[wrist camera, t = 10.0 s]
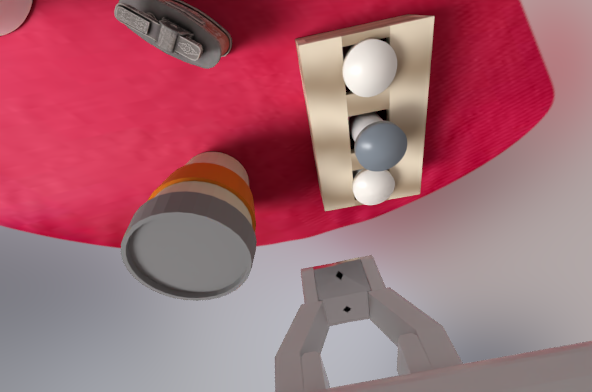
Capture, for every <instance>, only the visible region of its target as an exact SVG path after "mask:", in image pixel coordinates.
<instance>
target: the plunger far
mask: <svg viewBox="0 0 592 392" xmlns="http://www.w3.org/2000/svg"><path fill="white" fill-rule="evenodd" d="M352 174H353V182H352V190H353V193H354V196H355V198H356V199H357V200H358V201H359V202H360V203H362V204H365V205H376V204H379V203H382V202H383V201H385V200H386V199H388V198H389V197H390V196H391V194H392V193H393V191H394V188H395V181H394V178H393V177H392V175H391V174H390V172H389V171H388V170H384V171H377V172H376V171H370V170H367V169H359V170H354V171H352Z"/></svg>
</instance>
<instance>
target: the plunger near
mask: <svg viewBox="0 0 592 392" xmlns="http://www.w3.org/2000/svg"><path fill="white" fill-rule="evenodd" d="M342 50H343V66H342V76H343V80H344V82H345V84H346V86H347V87H348V88H349V89H350V90H351V91H352V92H353V93H354V94H356V95H358V96H361V97H372V96H376V95H378V94H380V93H381V92H383V91H384V90H385V89H387V87H388V86H389V85H390V84H391V82H392V81H393V79H394V77H395V74H396V71H397V57H396V54H395V52H394V50H393V48H392V47H391V46H390V45H389V44H388V43H386V42H384V41H381V40H378V39H372V38H370V39H365V40H362V41H360V42H358V43H356V44H354V45H349V46H344V47H342Z"/></svg>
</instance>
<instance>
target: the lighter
mask: <svg viewBox="0 0 592 392" xmlns="http://www.w3.org/2000/svg"><path fill="white" fill-rule="evenodd" d="M114 14H115V17H116V19H117V20H118V21H120V22H122V23H123V24H125V25H126V26H127V27H128V28H129V29H131V30H132V31H133V32H135V33H136V34H137V35H139V36H140V37H141V38H143V39H144V40H145V41H147V42H148V43H150V44H152V45H153V46H155V47H156V48H158V49H160V50H161V51H163V52H165V53H166V54H169V55H171V56H173V57H175V58H178V59H180V60H182V61H184V62H187V63H190V64H193V65H196V66H199V67H202V68H212V67H214V66H215V65H216V64H217V63H218V62H219V60H220V58H221V57H223V56H225V55H227V54H228V53H229V52H230V50H231V48H232V38H231V35H230V34H229V33H228V31H226V30H225V29H224V28H223V27H222V26H221V25H220V24H218V23H217V22H216V21H215V20H214V19H212V18H211V17H209V16H208V15H206V14H205V13H203V12H202V11H200V10H199V9H197V8H195V7H193V6H191V5H189V4H187V3H185V2H183V1H180V0H119V3H118V4H117V5H116V7H115V13H114Z"/></svg>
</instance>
